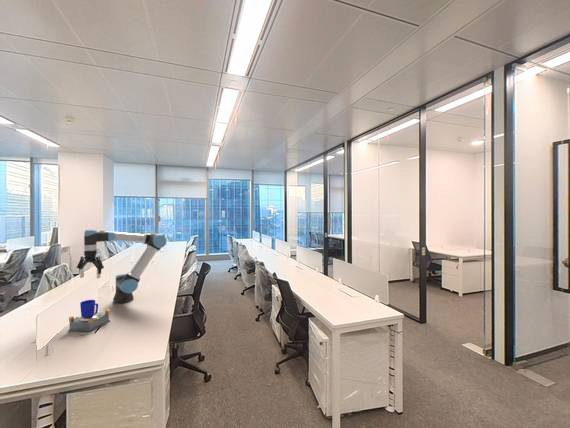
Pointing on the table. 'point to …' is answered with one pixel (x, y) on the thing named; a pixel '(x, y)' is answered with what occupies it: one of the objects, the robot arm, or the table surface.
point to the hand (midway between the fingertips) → (90, 277)
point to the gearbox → (89, 322)
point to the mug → (88, 308)
